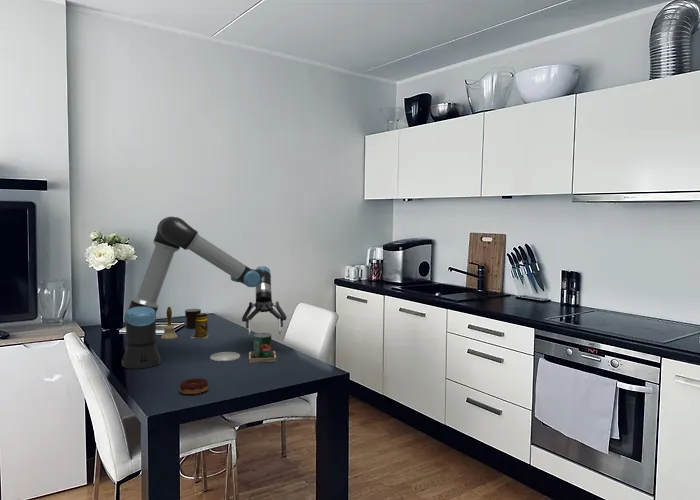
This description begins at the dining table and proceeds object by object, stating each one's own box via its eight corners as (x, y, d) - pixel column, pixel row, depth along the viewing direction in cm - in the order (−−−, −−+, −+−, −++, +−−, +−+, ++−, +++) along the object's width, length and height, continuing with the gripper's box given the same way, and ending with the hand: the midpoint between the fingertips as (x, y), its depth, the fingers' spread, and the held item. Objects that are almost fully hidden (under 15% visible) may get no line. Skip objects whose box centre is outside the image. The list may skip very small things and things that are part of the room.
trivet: (231, 362, 216) (231, 360, 216) (204, 360, 219) (204, 358, 219) (245, 354, 228) (245, 353, 228) (219, 352, 231) (219, 350, 231)
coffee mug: (198, 329, 277) (198, 311, 276) (182, 329, 277) (182, 311, 277) (204, 325, 289) (204, 307, 288) (189, 324, 289) (189, 307, 288)
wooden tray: (276, 362, 217) (276, 357, 217) (249, 363, 215) (249, 359, 215) (275, 355, 228) (275, 350, 228) (249, 356, 226) (249, 351, 226)
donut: (173, 393, 178) (173, 382, 177) (191, 385, 187) (191, 374, 186) (196, 397, 174) (196, 386, 174) (213, 389, 183) (213, 378, 183)
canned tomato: (267, 362, 217) (267, 337, 216) (250, 361, 218) (250, 336, 218) (273, 357, 225) (274, 333, 224) (257, 356, 226) (257, 332, 225)
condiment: (207, 338, 258) (207, 315, 258) (190, 338, 257) (190, 315, 256) (208, 334, 266) (208, 312, 265) (191, 335, 264) (191, 312, 263)
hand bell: (180, 337, 259) (180, 306, 258) (165, 340, 253) (165, 308, 252) (172, 334, 264) (172, 304, 263) (157, 337, 258) (157, 306, 257)
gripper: (289, 298, 246) (291, 336, 232) (237, 300, 240) (236, 338, 227) (290, 289, 240) (293, 327, 226) (236, 290, 235) (236, 329, 221)
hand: (264, 333), depth 227 cm, fingers open, 13 cm apart
